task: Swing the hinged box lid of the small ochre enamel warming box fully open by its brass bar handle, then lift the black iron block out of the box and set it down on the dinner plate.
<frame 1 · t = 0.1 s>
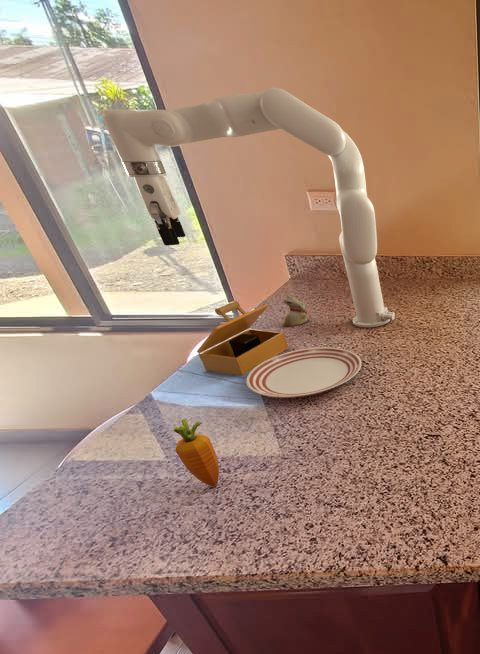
hand: (175, 240, 113), 31 cm above the countertop, tool pointing down, fingers open, 9 cm apart
carrot: (215, 486, 80), on the countertop
black block: (251, 358, 121), point 1 cm above the countertop, touching warming box
donut: (241, 342, 132), on the countertop
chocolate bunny: (296, 323, 145), on the countertop
dinner plate: (309, 379, 114), on the countertop
hinged box lid: (226, 320, 116), point 12 cm above the countertop, hinge at 40.0°
warming box: (250, 360, 122), on the countertop
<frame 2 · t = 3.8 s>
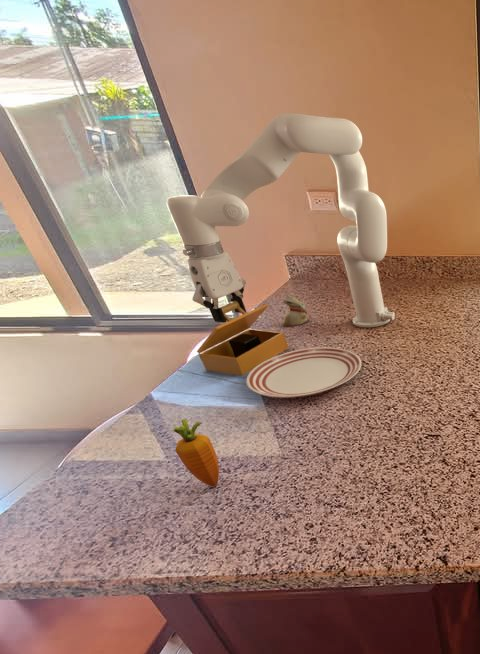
hand: (231, 316, 115), 14 cm above the countertop, tool pointing down, fingers closed on hinged box lid, 6 cm apart
hinged box lid: (226, 320, 116), point 12 cm above the countertop, hinge at 40.0°, touching gripper
everything else where it was.
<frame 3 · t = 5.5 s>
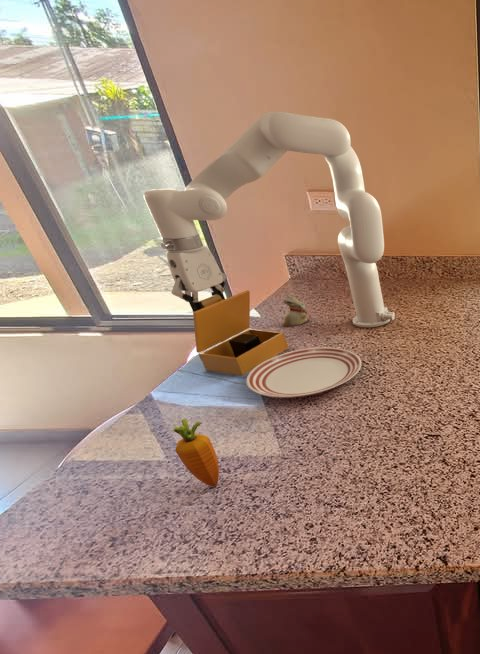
hand: (211, 310, 115), 15 cm above the countertop, tool pointing down, fingers closed on hinged box lid, 6 cm apart
hinged box lid: (215, 316, 116), point 13 cm above the countertop, hinge at 68.2°, touching gripper
everything else where it was.
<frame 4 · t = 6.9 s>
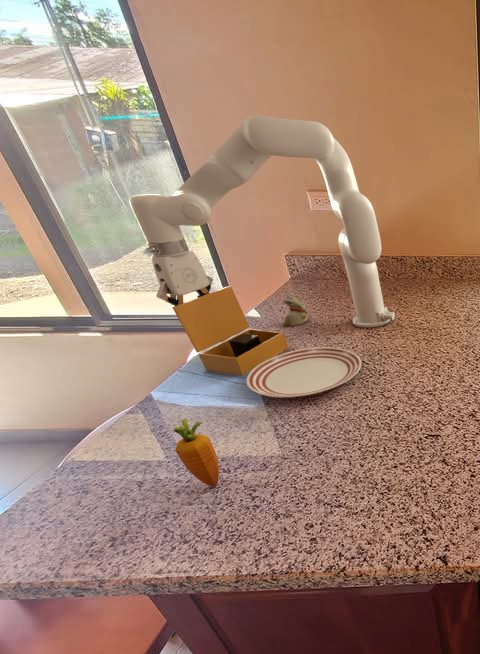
hand: (197, 313, 117), 13 cm above the countertop, tool pointing down, fingers closed on hinged box lid, 6 cm apart
hinged box lid: (207, 317, 117), point 12 cm above the countertop, hinge at 95.2°, touching gripper
everything else where it was.
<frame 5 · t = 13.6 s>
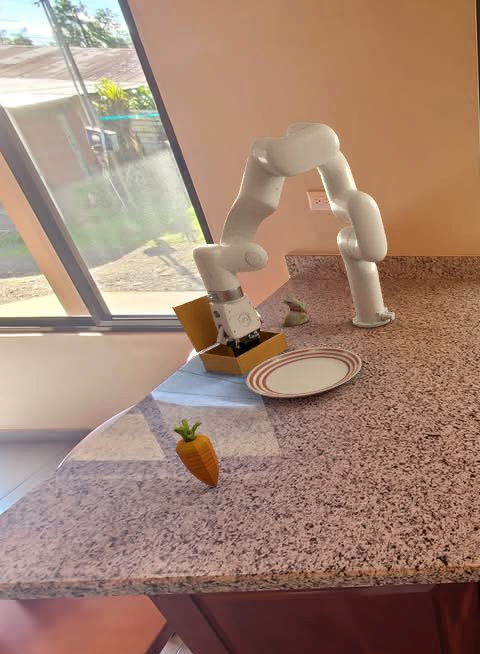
hand: (249, 354, 121), 2 cm above the countertop, tool pointing down, fingers closed on black block, 5 cm apart
black block: (251, 358, 121), point 1 cm above the countertop, touching gripper, warming box
hinged box lid: (207, 318, 117), point 12 cm above the countertop, hinge at 95.6°
everything else where it was.
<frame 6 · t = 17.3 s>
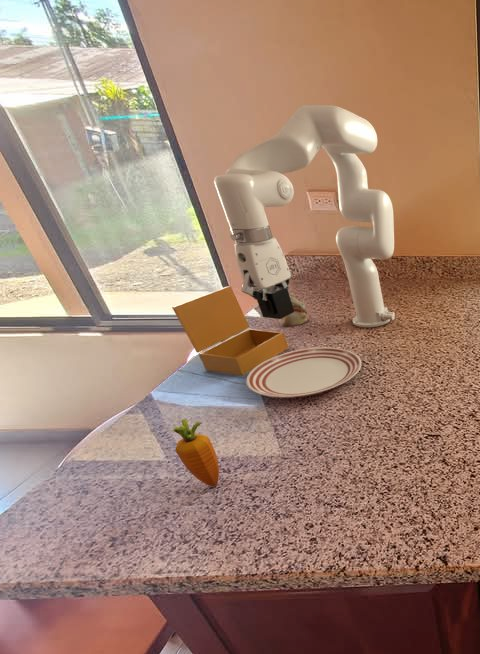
hand: (277, 309, 105), 19 cm above the countertop, tool pointing down, fingers closed on black block, 5 cm apart
black block: (279, 314, 106), point 18 cm above the countertop, touching gripper
everything else where it was.
when the fingers open (5 cm above the countertop, at t = 21.2 s): black block stays where it is, resting on dinner plate.
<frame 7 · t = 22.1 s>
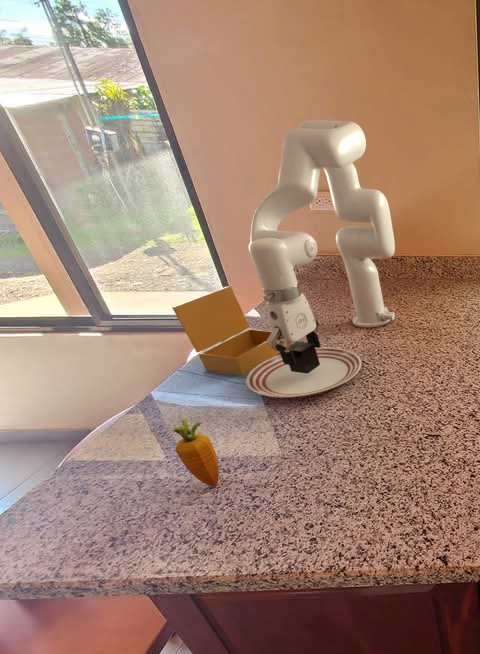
hand: (303, 355, 111), 7 cm above the countertop, tool pointing down, fingers open, 9 cm apart
black block: (305, 368, 112), point 3 cm above the countertop, touching dinner plate
dinner plate: (309, 379, 114), on the countertop, touching black block
everything else where it was.
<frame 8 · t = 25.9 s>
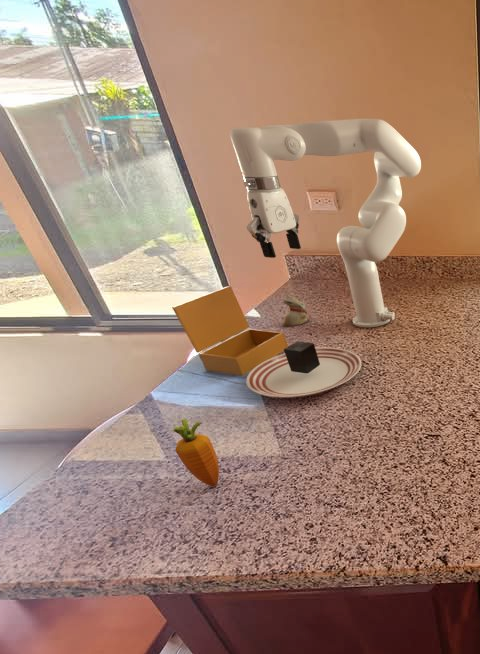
hand: (283, 252, 116), 28 cm above the countertop, tool pointing down, fingers open, 9 cm apart
nothing on the countertop moved.
at the end: hinged box lid at +96° (first picture: +40°); black block 0.0 cm from the dinner plate (horizontally); black block point 3.3 cm above the countertop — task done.
